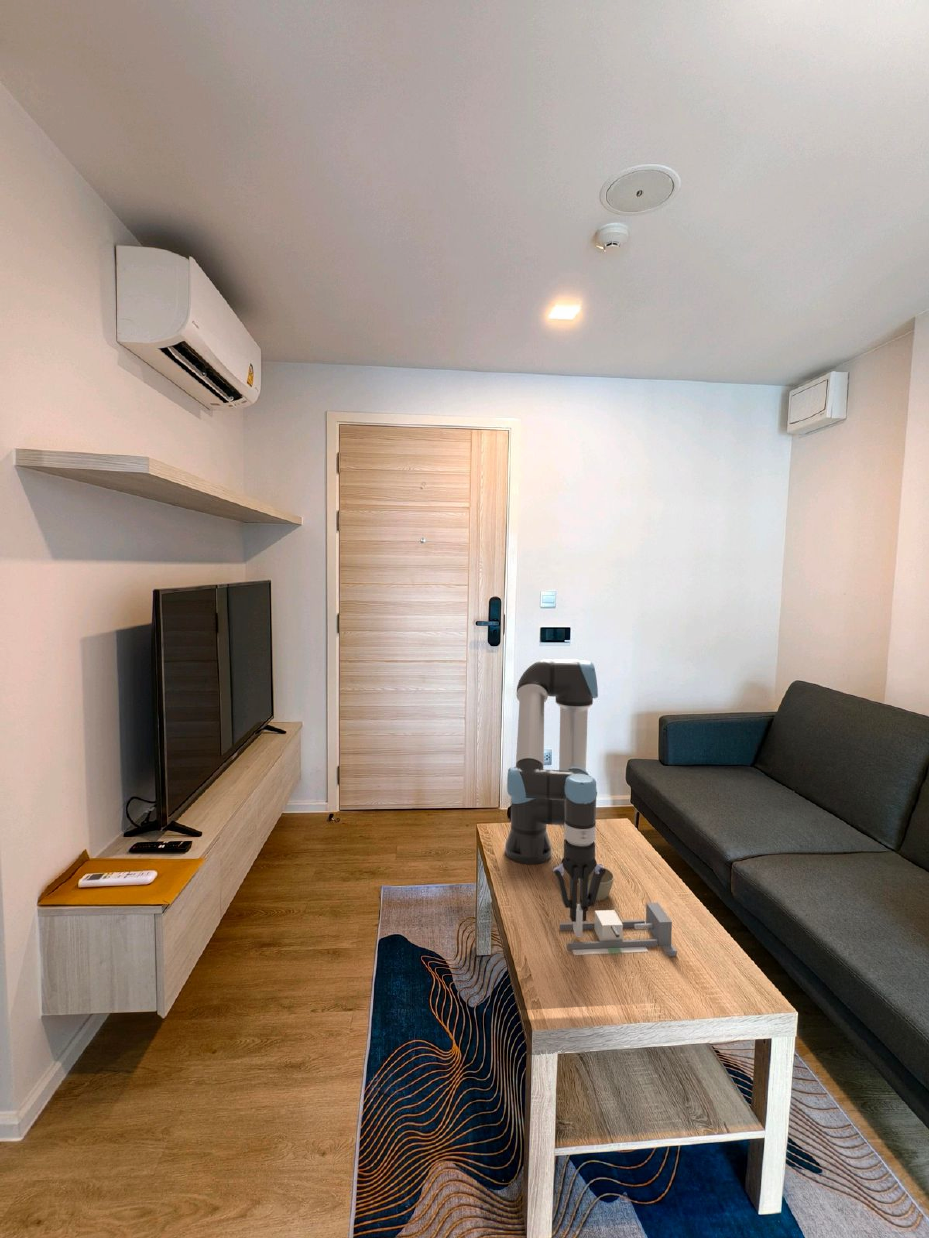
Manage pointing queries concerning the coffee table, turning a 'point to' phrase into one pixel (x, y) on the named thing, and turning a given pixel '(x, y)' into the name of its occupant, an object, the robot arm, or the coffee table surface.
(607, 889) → the flower pot
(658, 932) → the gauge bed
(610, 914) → the cream block
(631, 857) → the coffee table surface
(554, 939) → the coffee table surface
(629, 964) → the coffee table surface
